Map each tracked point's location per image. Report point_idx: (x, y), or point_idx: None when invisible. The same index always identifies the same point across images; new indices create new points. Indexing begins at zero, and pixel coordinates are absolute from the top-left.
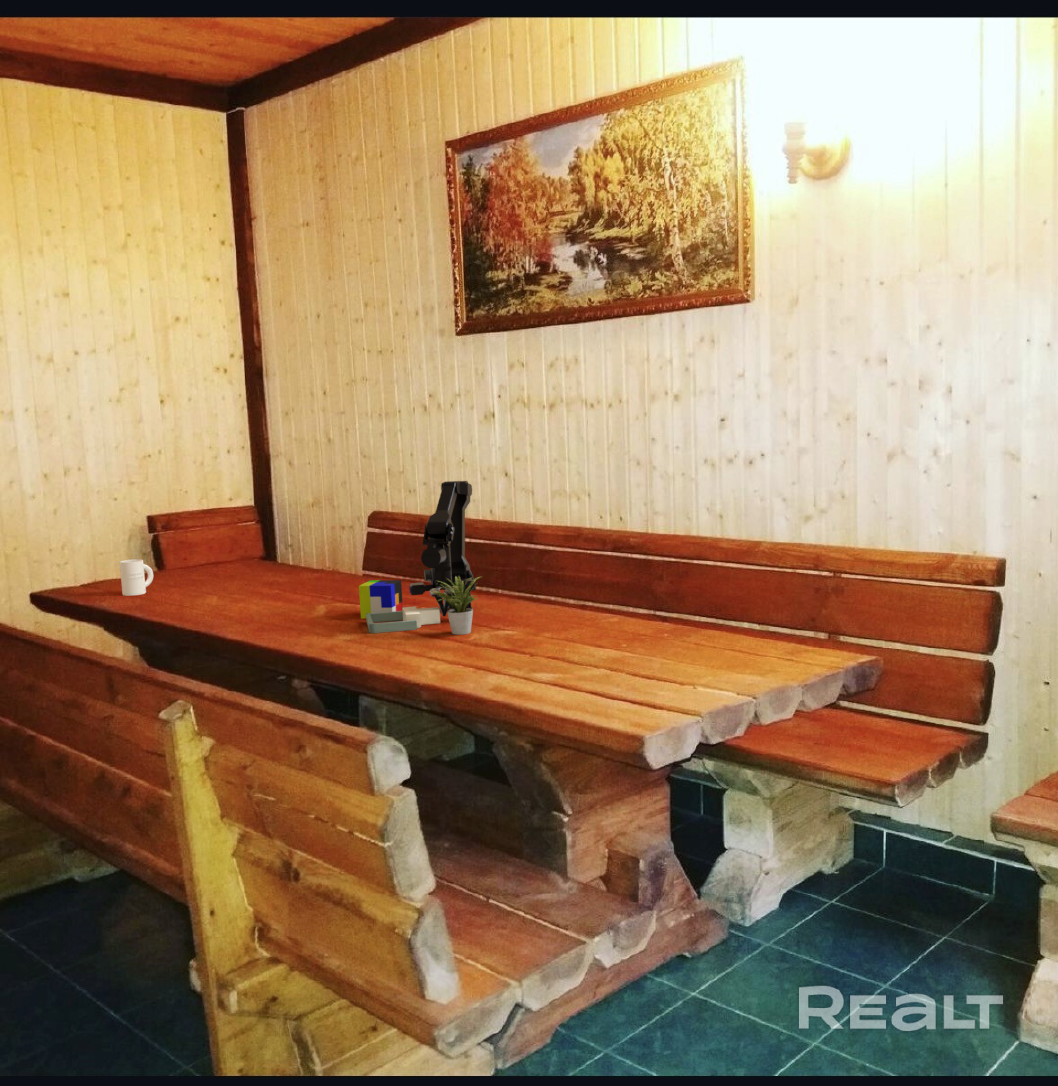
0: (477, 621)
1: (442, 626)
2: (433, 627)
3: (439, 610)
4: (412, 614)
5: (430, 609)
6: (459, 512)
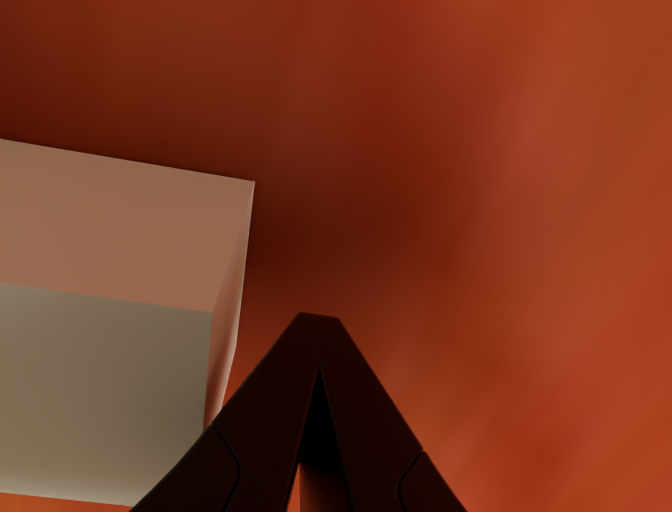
0: (636, 453)
1: None
2: None
3: None
4: None
5: (24, 448)
6: None
